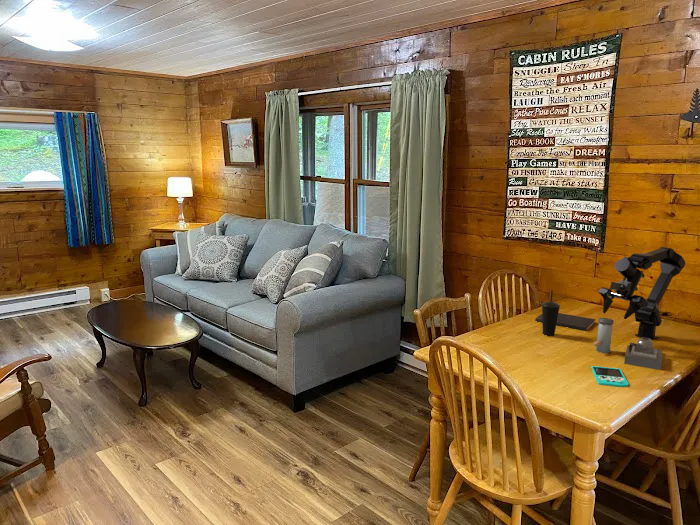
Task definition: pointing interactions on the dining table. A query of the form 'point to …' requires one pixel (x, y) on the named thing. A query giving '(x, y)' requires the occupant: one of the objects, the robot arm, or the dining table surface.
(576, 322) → the hardcover book
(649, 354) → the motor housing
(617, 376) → the handheld game console
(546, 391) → the dining table surface
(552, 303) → the drinking cup
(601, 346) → the grey capped cylinder
